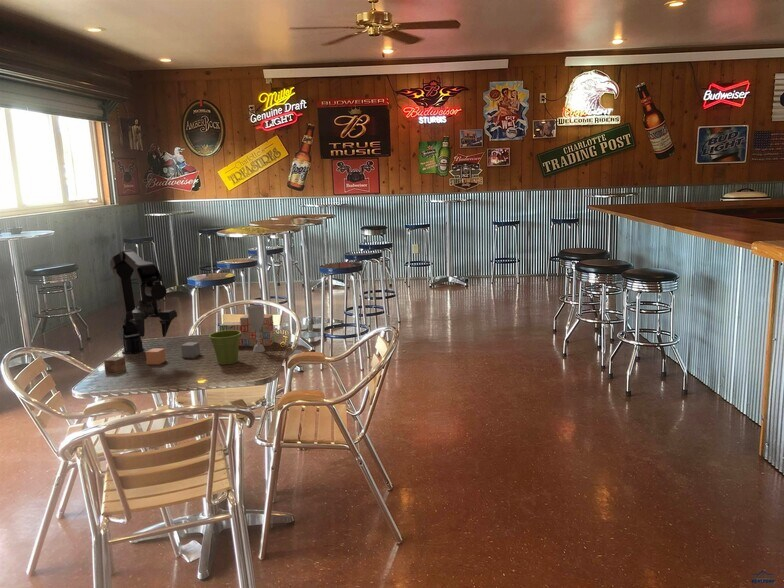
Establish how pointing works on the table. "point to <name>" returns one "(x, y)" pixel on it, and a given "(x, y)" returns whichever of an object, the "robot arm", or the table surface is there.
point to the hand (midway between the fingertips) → (153, 336)
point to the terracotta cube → (155, 356)
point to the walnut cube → (115, 364)
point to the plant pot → (226, 346)
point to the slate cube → (190, 349)
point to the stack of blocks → (252, 331)
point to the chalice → (256, 323)
